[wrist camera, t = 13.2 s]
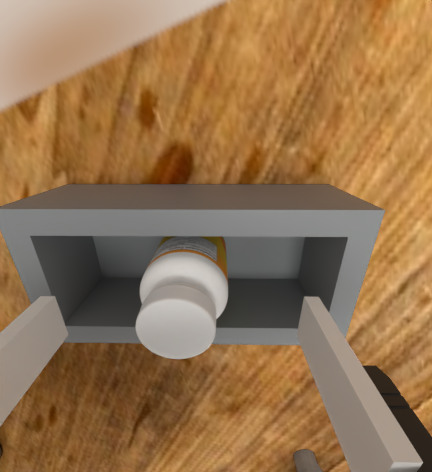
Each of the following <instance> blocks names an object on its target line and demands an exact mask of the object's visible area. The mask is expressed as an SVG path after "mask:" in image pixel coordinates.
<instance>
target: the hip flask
mask: <svg viewBox="0 0 432 472" xmlns="http://www.w3.org/2000/svg"><path fill="white" fill-rule="evenodd" d="M294 460H295V465H296V469H297V472H323V471H322V470H321V468H320V467H319V465H318V463H317V461H316V459H315V455H314V453H313V452H312V451H311V450H305V449H304V450H299V451H297V452H295V453H294Z"/></svg>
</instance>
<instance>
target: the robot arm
mask: <svg viewBox="0 0 432 472" xmlns="http://www.w3.org/2000/svg"><path fill="white" fill-rule="evenodd" d="M67 336H68V332H67V329H66V326H65V323H64V320H63V318H62V315H61V312H60V309H59V306H58V303H57V301H56V298H55V296H40V297H39V298H38V299H37V300H36V301H35V302H34V303H32V304H31V305H30V306H29V307H28V308H27V309H26V310H25V311H24V312H22V313H21V314H20V315H19V316H18V317H17V318H16V319H15V320H14V321H13V322H11V323H10V324H9V325H8V326H7V327H6V328H5V329H4V330H3V331H2V332H0V426H1V425H2V423H3V422H4V421H5V419H6V418H7V417H8V415H9V414H10V413H11V411H12V410H13V409H14V407H15V406H16V405H17V403H18V402H19V401H20V399H21V398H22V397H23V395H24V394H25V393H26V391H27V390H28V389H29V387H30V386H31V385H32V383H33V382H34V381H35V379H36V378H37V377H38V375H39V374H40V373H41V371H42V370H43V369H44V367H45V366H46V364H47V363H48V362H49V360H50V359H51V358H52V356H53V355H54V354H55V352H56V351H57V350H58V348H59V347H60V346H61V344H62V343H63V342H64V340H65V339H66V338H67ZM297 337H298V340H299V343H300V345H301V348H302V350H303V353H304V355H305V358H306V360H307V363H308V365H309V368H310V370H311V373H312V375H313V378H314V380H315V383H316V385H317V388H318V390H319V393H320V395H321V398H322V400H323V403H324V405H325V408H326V410H327V413H328V415H329V418H330V420H331V423H332V426H333V428H334V431H335V433H336V436H337V438H338V441H339V443H340V446H341V448H342V451H343V453H344V456H345V458H346V461H347V463H348V466H349V468H350V471H351V472H432V437H431V435H430V434H429V433H428V431H427V430H426V428H425V427H424V426H423V424H422V423H421V421H420V420H419V419H418V417H417V416H416V414H415V413H414V412H413V410H412V409H410V407H409V404H408V403H407V402H406V400H405V399H404V397H403V396H401V395H400V392H399V390H398V389H397V388H396V386H395V385H394V383H393V382H392V381H391V379H390V378H389V377H388V376H387V375H386V374H385V373H383V372H382V371H381V370H380V369H379V368H378V367H377V366H362V364H361V363H360V361H359V360H358V358H357V357H356V355H355V353H354V352H353V350H352V349H351V347H350V345H349V344H348V342H347V341H346V339H345V338H344V336H343V334H342V333H341V331H340V330H339V328H338V326H337V325H336V323H335V322H334V320H333V319H332V317H331V315H330V314H329V312H328V311H327V309H326V307H325V306H324V304H323V303H322V301H321V299H320V298H319V297H304V300H303V305H302V310H301V315H300V321H299V326H298V331H297ZM1 455H2V451H1V447H0V457H1Z"/></svg>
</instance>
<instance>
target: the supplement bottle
mask: <svg viewBox="0 0 432 472" xmlns="http://www.w3.org/2000/svg"><path fill="white" fill-rule="evenodd" d="M140 299H141V302H142V306H141V309H140V312H139V314H138V316H137V319H136V326H135V327H136V333H137V336H138V338H139V340H140V341H141V343H142V344H143V345H144V346H145V347H146V348H147V349H149V350H150V351H151V352H153V353H155V354H157V355H159V356H162V357H165V358H171V359H186V358H191V357H194V356H197V355H199V354H201V353H203V352H204V351H205V350H206V349H208V348H209V347H210V345H211V344H212V342H213V340H214V338H215V333H216V319H217V318H218V317H219V316H220V315H221V314H222V312H223V311H224V309H225V307H226V304H227V300H228V275H227V257H226V244H225V239H224V237H223V236H164V237H163V239H162V241H161V243H160V245H159V247H158V248H157V250H156V252H155V254H154V256H153V258H152V259H151V261H150V263H149V265H148V267H147V269H146V271H145V273H144V275H143V277H142V280H141V284H140Z"/></svg>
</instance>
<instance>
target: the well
mask: <svg viewBox="0 0 432 472" xmlns="http://www.w3.org/2000/svg"><path fill="white" fill-rule="evenodd" d="M384 212H385V210H384V209H381V208H379V207H377V206H375V205H373V204H371V203H368V202H366V201H364V200H362V199H360V198H357V197H355V196H353V195H351V194H349V193H347V192H344V191H342V190H340V189H338V188H336V187H333V186H331V185H329V184H67V185H64V186H61V187H58V188H55V189H52V190H49V191H46V192H43V193H40V194H37V195H34V196H30V197H27V198H24V199H21V200H18V201H15V202H12V203H9V204H6V205H3V206H0V230H1V233H2V235H3V237H4V240H5V242H6V245H7V247H8V249H9V252H10V254H11V256H12V259H13V261H14V264H15V266H16V268H17V271H18V273H19V276H20V278H21V280H22V283H23V285H24V288H25V290H26V292H27V295H28V297H29V300H30V302H31V304H32V303H34V302H35V301H36V300H37V299H38V298H39V297H40V296H55V298H56V301H57V303H58V306H59V309H60V312H61V315H62V318H63V320H64V323H65V326H66V329H67V332H68V336H67V338H66V339H65V340H64V342H70V343H141V341H140V340H139V338H138V336H137V333H136V327H135V326H136V319H137V316H138V314H139V312H140V309H141V306H142V302H141V299H140V284H141V280H142V277H143V275H144V273H145V271H146V269H147V267H148V265H149V263H150V261H151V259H152V258H153V256H154V254H155V252H156V250H157V248H158V247H159V245H160V243H161V241H162V239H163V237H164V236H223V237H224V239H225V244H226V257H227V275H228V300H227V304H226V307H225V309H224V311H223V312H222V314H221V315H220V316H219V317H218V318H217V319H216V333H215V338H214V340H213V342H212V344H245V345H300V343H299V340H298V337H297V331H298V326H299V321H300V315H301V310H302V305H303V300H304V297H319V298H320V299H321V301H322V303H323V304H324V306H325V307H326V309H327V311H328V312H329V314H330V315H331V317H332V319H333V320H334V322H335V323H336V325H337V326H338V328H339V330H340V331H341V333H342V334H343V336H344V338H345V337H346V334H347V331H348V328H349V324H350V321H351V318H352V315H353V312H354V308H355V305H356V302H357V299H358V295H359V292H360V289H361V286H362V283H363V279H364V276H365V273H366V270H367V267H368V263H369V260H370V257H371V254H372V251H373V247H374V244H375V241H376V238H377V235H378V231H379V228H380V225H381V222H382V218H383V215H384Z"/></svg>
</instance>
